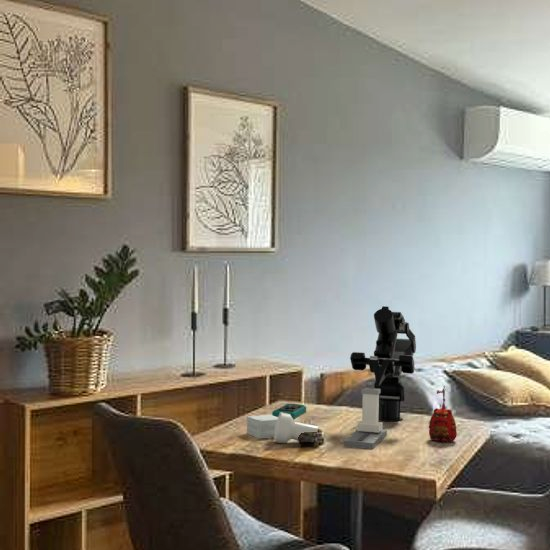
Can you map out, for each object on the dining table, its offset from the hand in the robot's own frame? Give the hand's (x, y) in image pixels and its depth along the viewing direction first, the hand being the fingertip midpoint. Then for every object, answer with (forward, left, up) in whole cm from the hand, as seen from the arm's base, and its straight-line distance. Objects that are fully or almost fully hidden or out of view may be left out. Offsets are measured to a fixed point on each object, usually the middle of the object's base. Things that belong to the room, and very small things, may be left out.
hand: (377, 385), depth 234 cm
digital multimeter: (+13, -31, -14) cm, 36 cm away
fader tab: (+7, +7, -11) cm, 15 cm away
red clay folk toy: (-10, +18, -14) cm, 25 cm away
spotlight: (+30, +6, -14) cm, 34 cm away
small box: (+33, -6, -14) cm, 37 cm away
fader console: (+10, +10, -13) cm, 20 cm away
